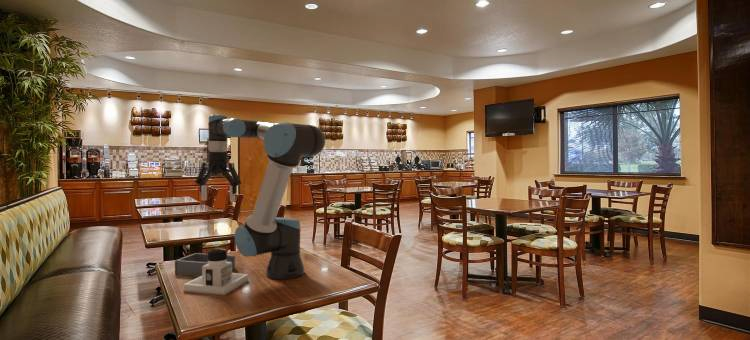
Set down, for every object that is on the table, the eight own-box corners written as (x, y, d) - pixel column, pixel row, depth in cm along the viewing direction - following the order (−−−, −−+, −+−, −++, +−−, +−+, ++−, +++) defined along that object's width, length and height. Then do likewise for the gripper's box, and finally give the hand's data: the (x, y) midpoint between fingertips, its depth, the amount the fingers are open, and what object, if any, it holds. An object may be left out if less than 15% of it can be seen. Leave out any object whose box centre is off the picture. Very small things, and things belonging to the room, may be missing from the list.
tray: (248, 281, 153) (248, 274, 153) (224, 295, 137) (224, 287, 137) (211, 277, 156) (211, 271, 156) (183, 291, 140) (183, 284, 140)
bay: (235, 268, 169) (235, 255, 169) (217, 277, 156) (217, 263, 156) (195, 265, 173) (195, 252, 173) (175, 274, 160) (174, 260, 160)
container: (221, 288, 142) (221, 252, 141) (201, 287, 143) (201, 251, 143) (232, 282, 150) (232, 247, 149) (214, 280, 151) (214, 246, 150)
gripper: (249, 151, 170) (249, 201, 171) (197, 151, 175) (197, 198, 176) (240, 151, 163) (239, 203, 164) (186, 151, 168) (186, 200, 169)
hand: (218, 201), depth 170 cm, fingers open, 13 cm apart
